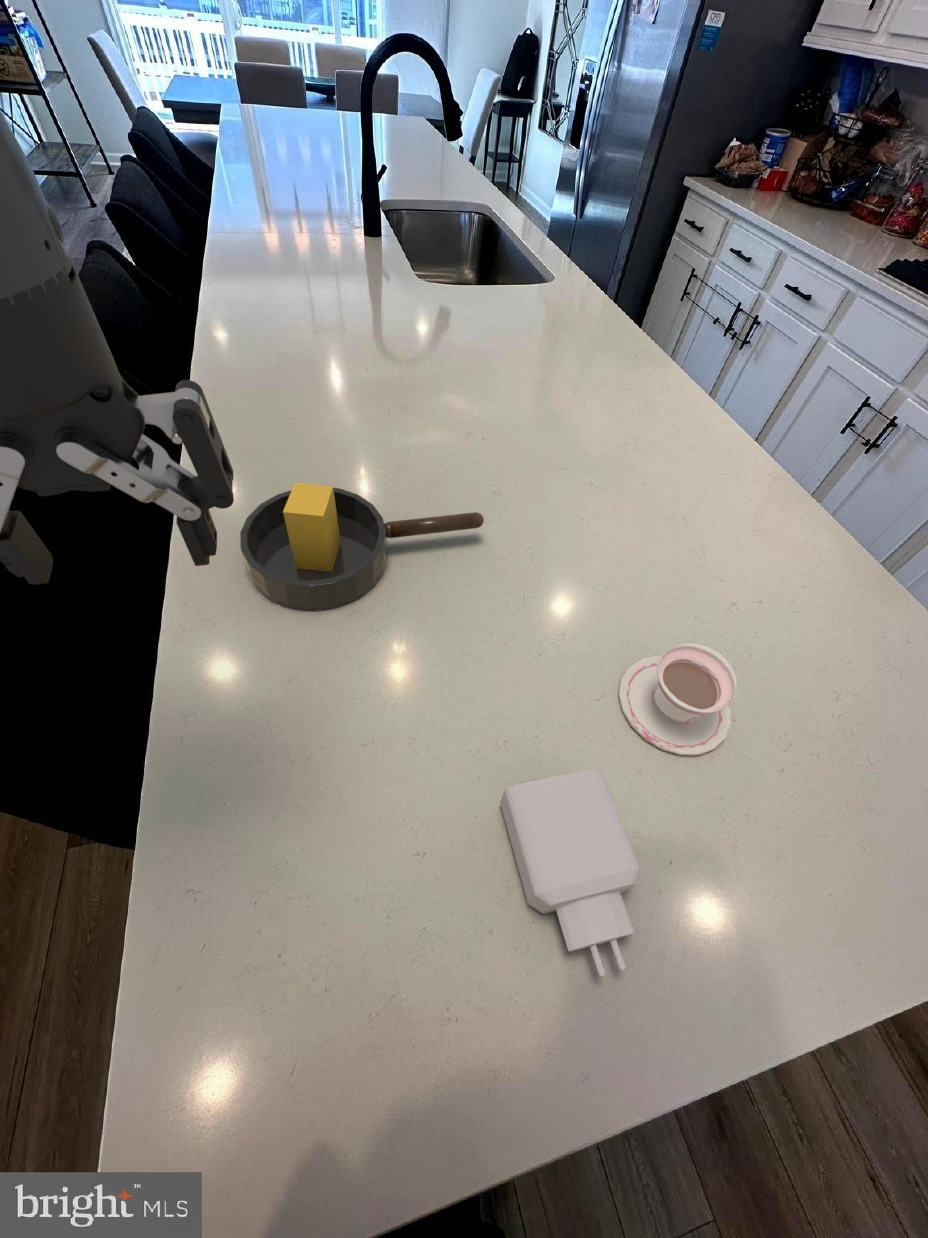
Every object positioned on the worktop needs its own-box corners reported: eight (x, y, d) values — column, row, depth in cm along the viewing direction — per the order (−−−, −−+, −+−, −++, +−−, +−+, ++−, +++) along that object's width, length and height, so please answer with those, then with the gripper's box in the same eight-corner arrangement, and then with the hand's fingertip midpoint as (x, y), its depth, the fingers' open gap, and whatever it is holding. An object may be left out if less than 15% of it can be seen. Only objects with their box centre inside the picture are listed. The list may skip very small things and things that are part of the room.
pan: (250, 620, 63) (241, 594, 59) (247, 520, 72) (239, 493, 69) (396, 600, 66) (396, 574, 63) (375, 507, 76) (374, 480, 72)
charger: (549, 992, 44) (498, 804, 52) (656, 961, 45) (589, 785, 54) (563, 987, 40) (505, 786, 48) (678, 953, 42) (603, 765, 50)
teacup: (695, 780, 55) (722, 754, 50) (596, 703, 60) (613, 673, 55) (747, 705, 61) (777, 675, 56) (654, 640, 66) (674, 607, 61)
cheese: (332, 572, 67) (323, 516, 60) (295, 568, 67) (282, 511, 60) (340, 543, 70) (333, 486, 63) (306, 539, 70) (294, 482, 63)
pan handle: (383, 542, 68) (382, 530, 67) (380, 531, 70) (379, 519, 68) (484, 530, 71) (486, 518, 70) (480, 519, 72) (482, 508, 71)
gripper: (-376, 306, 16) (-31, 633, 29) (153, 294, 19) (255, 596, 32) (-248, 213, 21) (3, 533, 33) (167, 215, 24) (252, 509, 36)
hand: (126, 564), depth 33 cm, fingers open, 8 cm apart
